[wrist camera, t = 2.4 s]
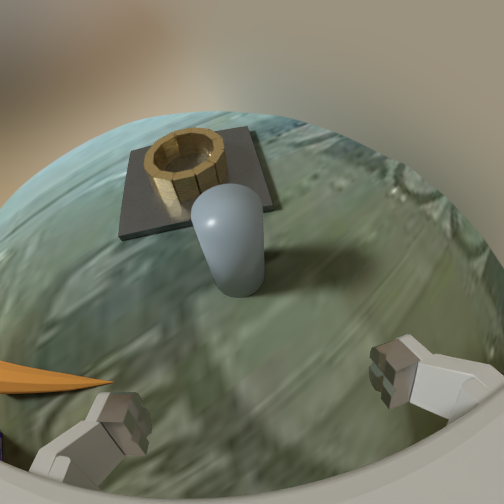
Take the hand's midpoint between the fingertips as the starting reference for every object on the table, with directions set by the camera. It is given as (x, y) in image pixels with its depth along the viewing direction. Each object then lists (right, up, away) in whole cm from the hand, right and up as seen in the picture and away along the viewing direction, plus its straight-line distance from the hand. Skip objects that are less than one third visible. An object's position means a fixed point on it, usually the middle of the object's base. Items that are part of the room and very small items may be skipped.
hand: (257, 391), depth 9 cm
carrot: (-23, -10, +14) cm, 29 cm away
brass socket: (-8, +14, +27) cm, 31 cm away
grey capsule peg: (-1, +2, +19) cm, 20 cm away
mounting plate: (-8, +14, +27) cm, 31 cm away
